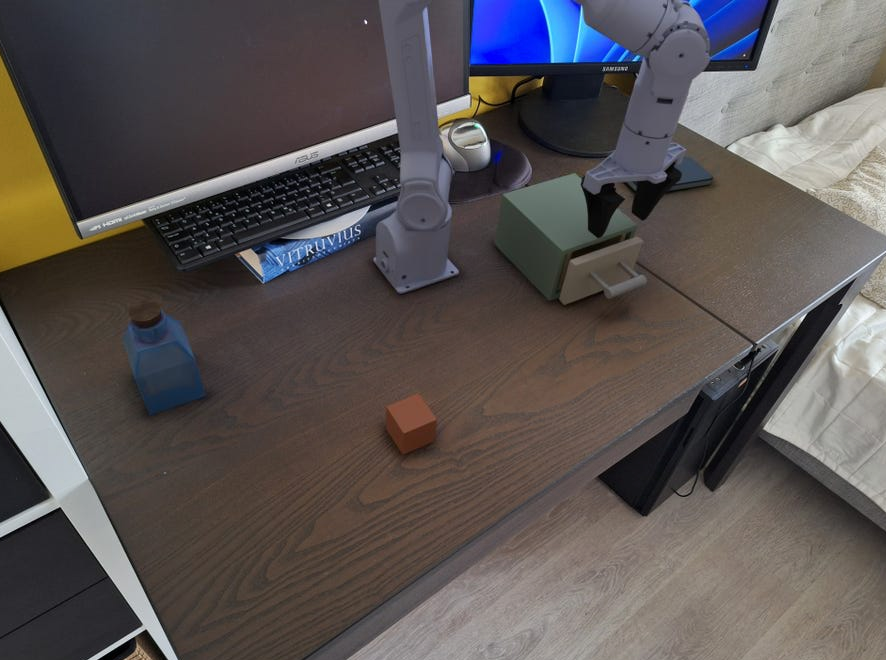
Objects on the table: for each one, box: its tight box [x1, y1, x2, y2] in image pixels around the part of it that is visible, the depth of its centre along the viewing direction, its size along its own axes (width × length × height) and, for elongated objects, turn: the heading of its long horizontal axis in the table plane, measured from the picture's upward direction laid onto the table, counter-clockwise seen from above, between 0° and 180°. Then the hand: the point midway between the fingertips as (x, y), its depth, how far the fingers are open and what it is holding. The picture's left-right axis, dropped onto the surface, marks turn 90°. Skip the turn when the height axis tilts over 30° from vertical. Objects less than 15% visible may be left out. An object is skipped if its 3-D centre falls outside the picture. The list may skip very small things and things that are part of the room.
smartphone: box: [626, 155, 714, 192], centre depth 112 cm, size 8×2×15 cm
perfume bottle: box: [121, 298, 207, 416], centre depth 72 cm, size 6×6×12 cm
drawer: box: [557, 233, 648, 306], centre depth 90 cm, size 17×11×7 cm, turn 30°
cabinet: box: [494, 172, 638, 302], centre depth 93 cm, size 14×13×9 cm
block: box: [385, 393, 438, 456], centre depth 72 cm, size 4×4×4 cm
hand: (617, 224), depth 85 cm, fingers open, 7 cm apart
